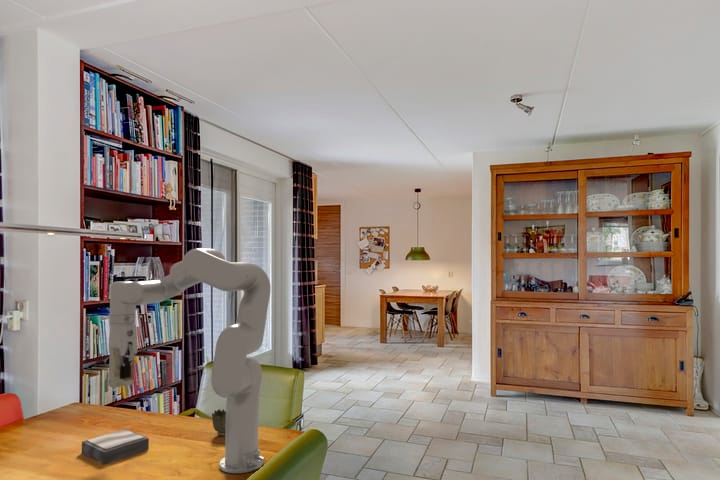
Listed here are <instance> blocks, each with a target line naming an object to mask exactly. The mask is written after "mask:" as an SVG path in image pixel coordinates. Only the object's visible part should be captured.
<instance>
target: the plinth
mask: <svg viewBox="0 0 720 480" xmlns="http://www.w3.org/2000/svg"><path fill="white" fill-rule="evenodd" d="M149 442H150V441H149V437H148V436H144V435H141V434H139V433H136V432H134V431H132V430H129V429H126V428H125V429H121V430H118V431H117V430H116V431H114V432H110V433H108V434H103V435H99V436H97V437H93V438H90V439H89V438H88V439H85V440H83V441H81V454H82V455H84V456H86V457H88V458H90V459H92V460H94V461H96V462H98V463H99V464H102V465H103V466H104V465H107V464H111V463H112V462H116V461H118V460H121V459H125V458H127V457H131V456H134V455H136V454H140V453H143V452H145V451H148V450H149V445H150V443H149Z"/></svg>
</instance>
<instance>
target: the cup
mask: <svg viewBox="0 0 720 480" xmlns="http://www.w3.org/2000/svg"><path fill="white" fill-rule="evenodd" d="M211 417H212V419H211V420H212V427H213V429H214V430H215V432H217V433H216V435H217V436H218V437H225V429H226V410H225V409H222V410H221V409H218V410H214V413H213V412H212V413H211Z"/></svg>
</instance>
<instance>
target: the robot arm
mask: <svg viewBox="0 0 720 480" xmlns="http://www.w3.org/2000/svg"><path fill="white" fill-rule="evenodd" d="M199 283H203V284H206V285H208V286H211V287H212V288H215V289H217V290H219V291H223V292H228V293H229V292H239V291H243V294H242V295H243V296H242V298H241V300H240V302H239V304H238V305H239V306H238V311H237V317H236V320H235V321H236V322H235V324H230V325H229V326H226V327H225V328H224V329H223V330H222V331H221V332H220V333H219V335H218V337H217V340H216V344H215V348H214V349H215V350H214V356H213V362H212V368H211V373H210V374H211V375H210V377H211V378H210V379H211V380H210V381H211V383H210V384H211V387H212V390H213V391H214V392H215V393H214V394H216V395H218V396H219V397H220V398H225V399H226V403H225V411H226V429H225V436H224V437H225V439H224V442H225V446H224V457H223V458H222V459H220V461H219V465H218V466H219V469H220V470H221V471H223V472H225V473H227V474H228V473H229V474H244V473H249V472H253V471H256V470H258V469H259V468H261V467H262V466H263V464H264V463H265V461H266V457H264V456H262V455H261V449H259V414H260V413H259V411H260V407H259V406H260V393H261V391H260V390H261V384H262V376H263V371H262V366H261V364H260V362H259V361H258V360H257V359H256V358H255V357H253V356H249V355H250V354H253V353H255V352H257V351H258V350H259V349H260V348H261V347H262V345H263V342H264V337H265V329H266V322H267V318H268V317H267V316H268V315H267V314H268V309H269V303H270V297H271V281H270V278H269V276H268V274H267V272H266V271H265V270H264V269H263V268H262V267H260V266H259V265H257V264H255V263H252V262H247V261H239V262H238V261H236V262H235V261H234V262H231V261H228V260H226V257H225V255H224V253H222V252H221V251H219V249H218V250H217V249H214V248H202V247H200V248H199V247H198V248H194V249H193V248H192V249H190V250H188V251H187V252H186V253H185V254H184V256H183V258H182V260H181V261H177V262H176V263H174V264H172V265H171V266H170V270H169V274H167V275H165V276H164V277H161V278H158V279H156V280H155V279H154V280H152V279H151V280H140V281H139V280H138V281H137V280H136V281H130V280H128V281H127V280H125V281H123V280H122V281H114V282H112V283H111V285H110V295H109V297H110V299H109V324H108V325H109V335H108V353H109V354H110V348H111V347H113V348H117V349H118V354H119V356H121V365H122V366H120V379H124V378H129V377H131V365H132V360H133V359H134V360H135V358H136V355H137V354H138V333H137V326H136V321H137V320H136V313H137V306H143V305H151V304H159V303H163V302H165V301H166V300H169V299H171V298H174V297H177V296H178V295H181V294H182V293H183V292H184V291H186V289H188V288H191V287H193V286H195V285H197V284H199ZM126 353H128V355H126ZM126 357H128V358H126ZM124 358H126V359H124Z"/></svg>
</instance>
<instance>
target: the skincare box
mask: <svg viewBox="0 0 720 480" xmlns="http://www.w3.org/2000/svg"><path fill="white" fill-rule="evenodd" d="M126 355H128V353H126ZM126 358H128V357H126ZM126 358H124V359H126ZM108 362H109V364H108V379H107V385H108V387H111V388H115V389H116V388H121V387H125V386H133V385H134V369H135V358H134V359H133V360H132V365H131V377H129V378H124V379H120V366H122V365H121V356H119V354H118V349H117V348H113V347H111V348H110V353H109V360H108Z"/></svg>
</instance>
